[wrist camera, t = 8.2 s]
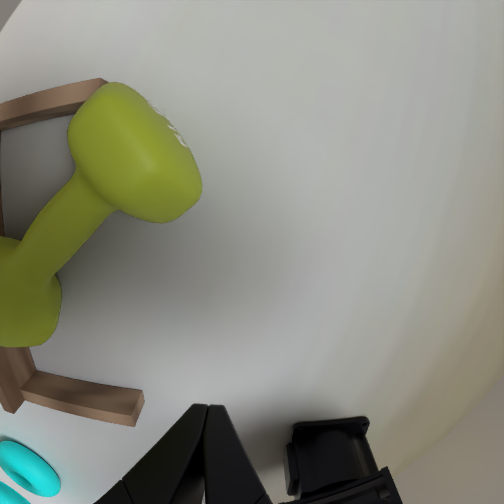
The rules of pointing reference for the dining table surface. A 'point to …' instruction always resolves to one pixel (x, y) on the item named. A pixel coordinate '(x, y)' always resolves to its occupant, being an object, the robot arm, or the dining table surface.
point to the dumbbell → (94, 202)
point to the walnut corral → (19, 358)
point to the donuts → (25, 474)
